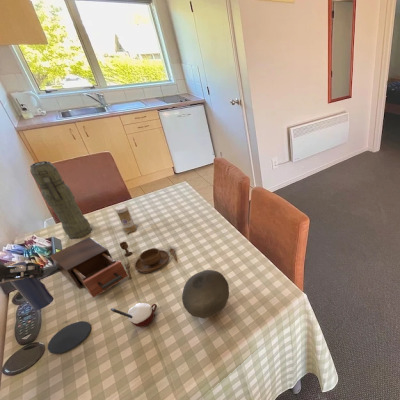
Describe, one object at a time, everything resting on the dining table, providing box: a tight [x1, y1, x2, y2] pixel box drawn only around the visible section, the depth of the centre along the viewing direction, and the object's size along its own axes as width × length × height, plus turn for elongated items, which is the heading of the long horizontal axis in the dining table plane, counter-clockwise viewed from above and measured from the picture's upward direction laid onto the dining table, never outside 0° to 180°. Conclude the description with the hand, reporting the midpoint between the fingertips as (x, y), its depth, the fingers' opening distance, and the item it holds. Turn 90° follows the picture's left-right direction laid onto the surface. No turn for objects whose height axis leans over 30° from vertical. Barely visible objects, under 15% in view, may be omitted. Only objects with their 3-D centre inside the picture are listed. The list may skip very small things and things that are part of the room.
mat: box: [47, 320, 92, 355], centre depth 79 cm, size 10×10×1 cm
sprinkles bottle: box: [114, 204, 137, 234], centre depth 121 cm, size 5×5×13 cm
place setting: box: [119, 241, 178, 279], centre depth 107 cm, size 18×20×6 cm
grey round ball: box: [181, 269, 230, 319], centre depth 83 cm, size 14×14×15 cm
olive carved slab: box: [29, 160, 93, 240], centre depth 115 cm, size 9×12×35 cm
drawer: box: [71, 253, 129, 298], centre depth 95 cm, size 18×11×7 cm, turn 59°
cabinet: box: [49, 236, 113, 290], centre depth 101 cm, size 15×13×9 cm
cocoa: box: [110, 302, 158, 328], centre depth 80 cm, size 10×6×12 cm, turn 128°
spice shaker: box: [10, 261, 54, 311], centre depth 68 cm, size 4×4×13 cm
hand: (29, 275), depth 69 cm, fingers closed on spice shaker, 4 cm apart
